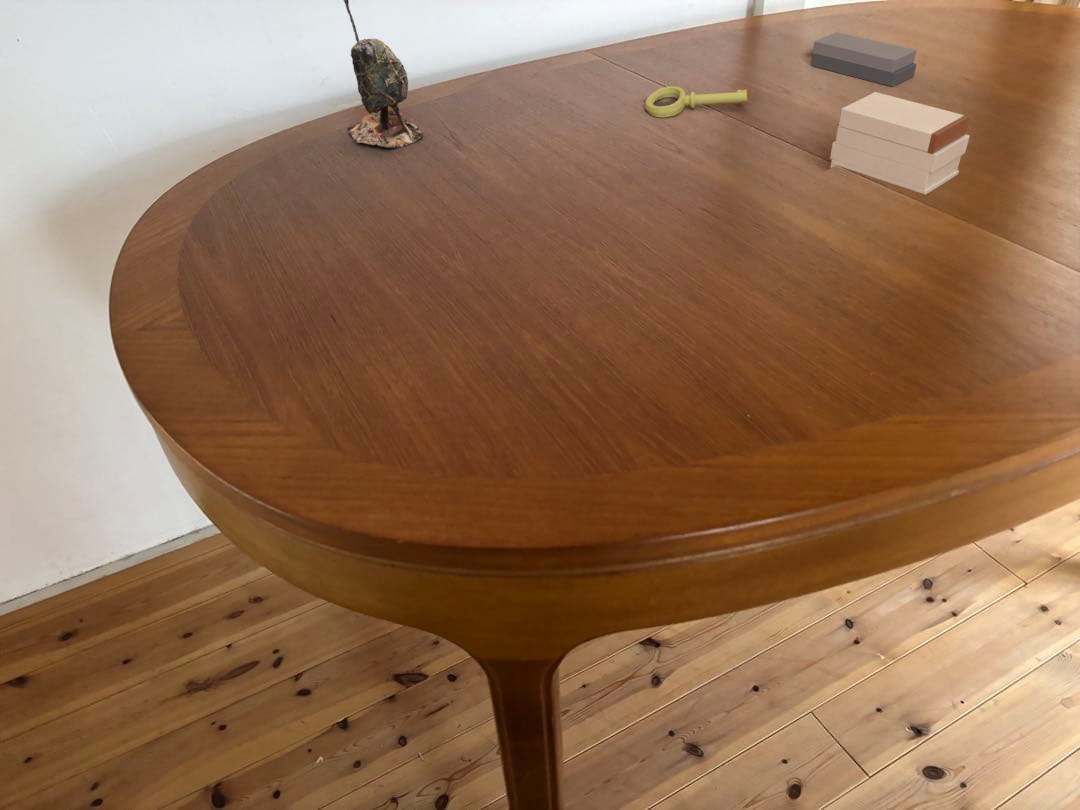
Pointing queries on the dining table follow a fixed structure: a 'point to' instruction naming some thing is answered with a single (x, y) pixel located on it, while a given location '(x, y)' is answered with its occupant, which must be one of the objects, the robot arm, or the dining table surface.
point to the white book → (904, 122)
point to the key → (688, 100)
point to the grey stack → (864, 58)
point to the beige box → (897, 160)
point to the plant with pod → (380, 94)
